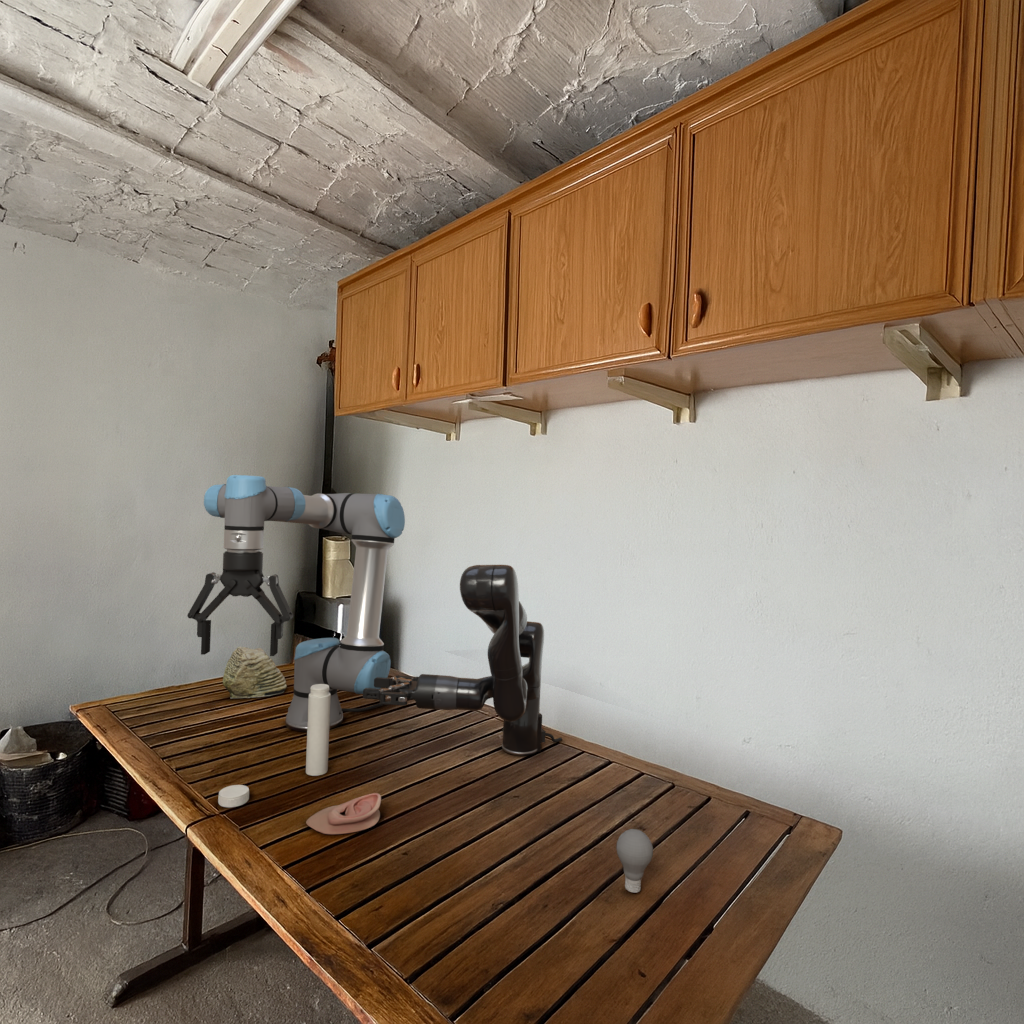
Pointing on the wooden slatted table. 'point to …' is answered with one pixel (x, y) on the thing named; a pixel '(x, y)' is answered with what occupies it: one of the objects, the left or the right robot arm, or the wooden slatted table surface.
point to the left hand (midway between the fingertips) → (239, 653)
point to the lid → (233, 796)
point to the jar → (318, 730)
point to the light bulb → (634, 857)
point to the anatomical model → (347, 816)
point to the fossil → (252, 674)
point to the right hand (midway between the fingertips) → (368, 687)
